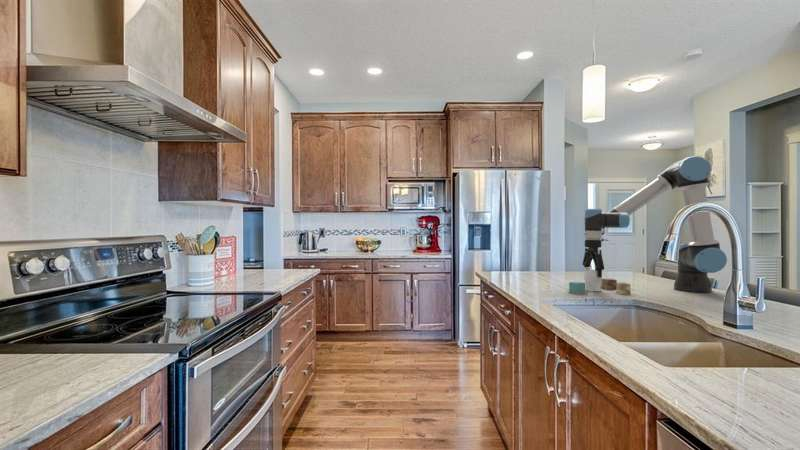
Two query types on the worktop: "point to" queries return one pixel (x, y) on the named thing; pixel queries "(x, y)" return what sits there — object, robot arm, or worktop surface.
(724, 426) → the worktop surface
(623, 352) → the worktop surface
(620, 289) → the maple block
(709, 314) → the worktop surface
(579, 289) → the teal painted block
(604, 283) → the walnut block
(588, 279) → the white cup
